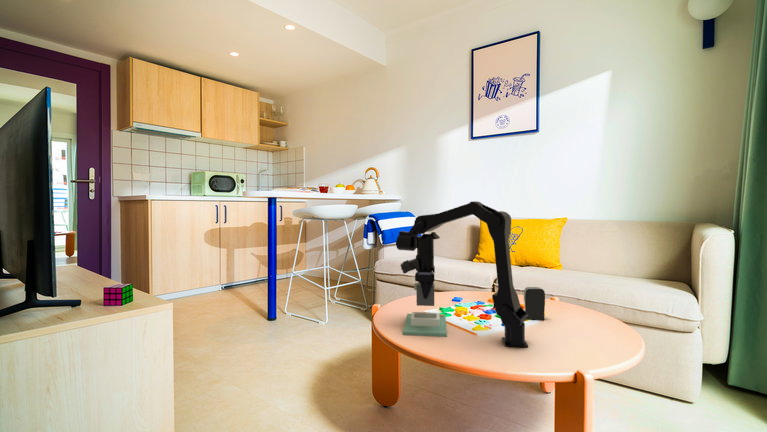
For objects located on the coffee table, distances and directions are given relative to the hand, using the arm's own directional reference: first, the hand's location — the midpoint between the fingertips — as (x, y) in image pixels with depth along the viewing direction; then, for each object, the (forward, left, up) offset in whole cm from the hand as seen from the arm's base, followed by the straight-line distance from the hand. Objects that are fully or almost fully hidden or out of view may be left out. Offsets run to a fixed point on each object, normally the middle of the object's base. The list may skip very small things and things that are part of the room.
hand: (425, 296), depth 127 cm
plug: (0, 0, -3) cm, 2 cm away
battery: (+13, -39, -10) cm, 42 cm away
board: (0, 0, -10) cm, 10 cm away
